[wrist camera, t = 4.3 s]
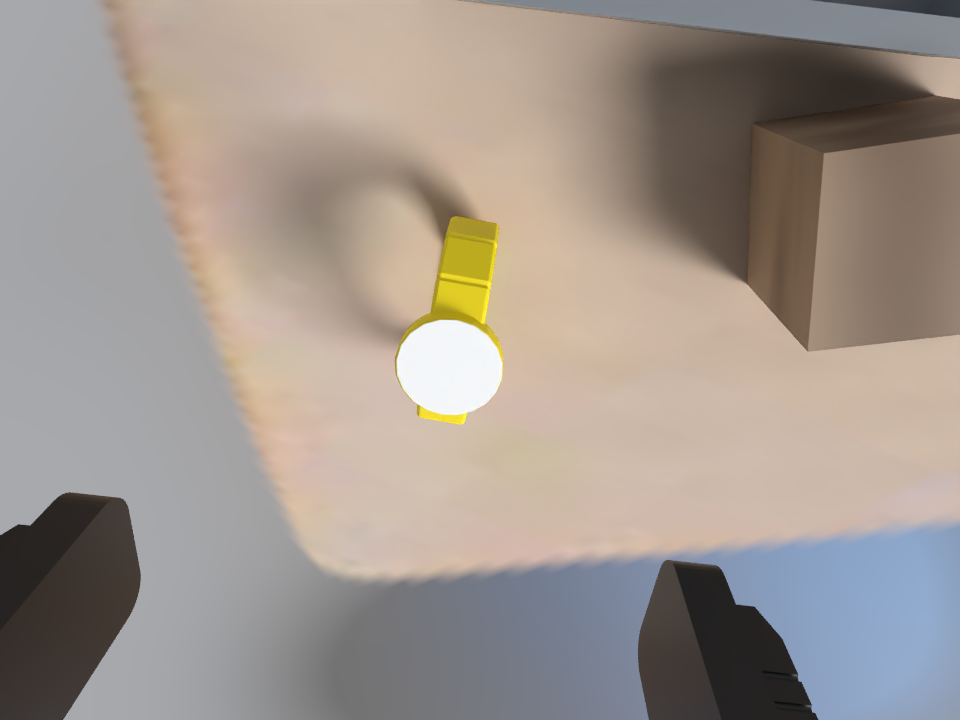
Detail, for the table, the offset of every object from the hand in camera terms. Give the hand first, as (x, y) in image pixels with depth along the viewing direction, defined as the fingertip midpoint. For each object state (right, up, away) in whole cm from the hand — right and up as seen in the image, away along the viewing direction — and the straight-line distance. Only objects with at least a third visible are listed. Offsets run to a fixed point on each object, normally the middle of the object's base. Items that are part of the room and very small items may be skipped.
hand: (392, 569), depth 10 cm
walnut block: (+12, +8, +10) cm, 18 cm away
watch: (+1, +6, +12) cm, 13 cm away
